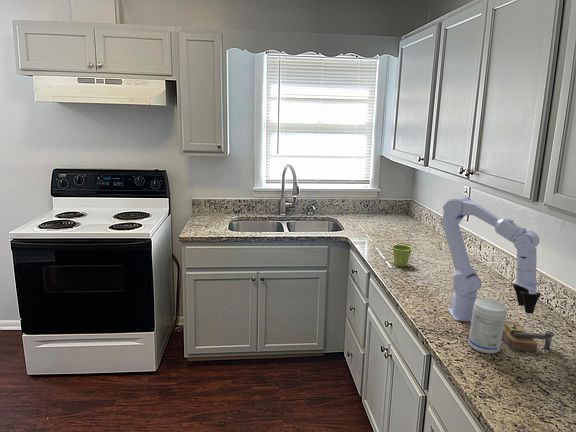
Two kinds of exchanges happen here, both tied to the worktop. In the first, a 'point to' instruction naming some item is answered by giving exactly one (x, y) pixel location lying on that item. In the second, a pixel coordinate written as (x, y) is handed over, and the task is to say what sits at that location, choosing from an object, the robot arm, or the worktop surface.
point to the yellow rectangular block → (512, 328)
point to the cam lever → (537, 337)
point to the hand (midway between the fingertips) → (525, 309)
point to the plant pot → (401, 254)
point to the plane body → (519, 341)
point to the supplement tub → (487, 325)
